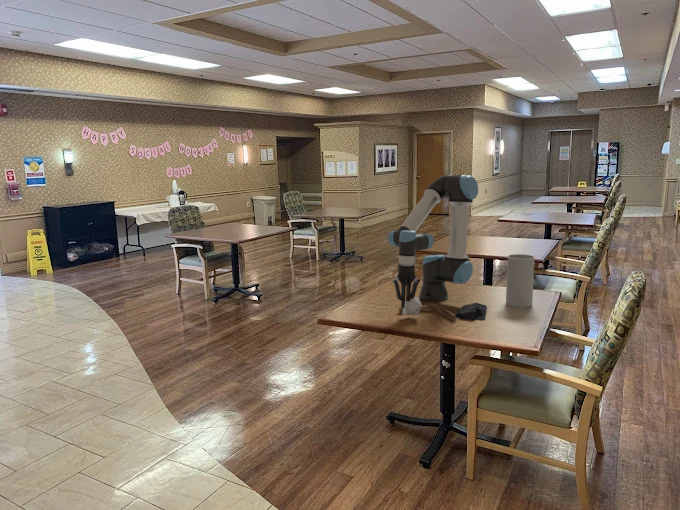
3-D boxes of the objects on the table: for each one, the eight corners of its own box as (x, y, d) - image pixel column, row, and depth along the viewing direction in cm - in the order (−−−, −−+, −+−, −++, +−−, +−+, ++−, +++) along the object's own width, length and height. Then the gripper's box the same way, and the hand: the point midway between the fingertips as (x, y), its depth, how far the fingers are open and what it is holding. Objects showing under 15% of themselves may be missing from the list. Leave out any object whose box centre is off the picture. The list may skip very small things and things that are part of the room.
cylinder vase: (513, 309, 254) (515, 259, 249) (501, 303, 266) (503, 254, 261) (537, 308, 255) (539, 258, 251) (524, 301, 268) (526, 253, 263)
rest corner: (437, 309, 255) (437, 304, 255) (455, 321, 236) (455, 315, 236) (398, 313, 251) (398, 307, 250) (414, 325, 232) (414, 319, 231)
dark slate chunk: (491, 310, 255) (492, 301, 254) (483, 322, 235) (483, 312, 234) (460, 307, 261) (460, 298, 260) (450, 319, 242) (450, 309, 241)
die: (415, 319, 235) (427, 301, 237) (398, 308, 237) (410, 290, 238) (414, 321, 244) (425, 303, 245) (398, 310, 245) (409, 292, 247)
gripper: (416, 262, 242) (415, 311, 245) (390, 263, 239) (389, 313, 242) (423, 265, 235) (421, 316, 238) (396, 266, 232) (394, 317, 235)
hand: (405, 314), depth 240 cm, fingers closed
